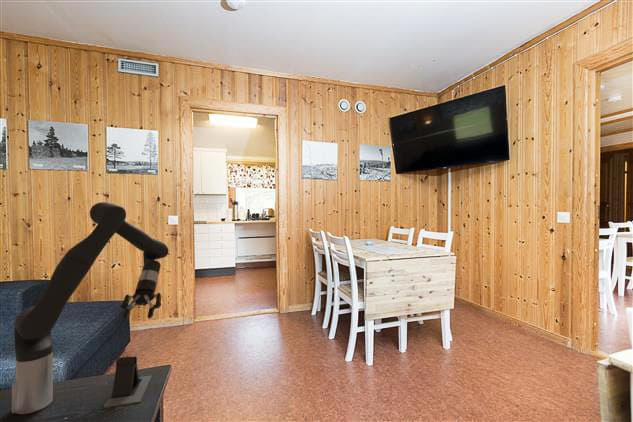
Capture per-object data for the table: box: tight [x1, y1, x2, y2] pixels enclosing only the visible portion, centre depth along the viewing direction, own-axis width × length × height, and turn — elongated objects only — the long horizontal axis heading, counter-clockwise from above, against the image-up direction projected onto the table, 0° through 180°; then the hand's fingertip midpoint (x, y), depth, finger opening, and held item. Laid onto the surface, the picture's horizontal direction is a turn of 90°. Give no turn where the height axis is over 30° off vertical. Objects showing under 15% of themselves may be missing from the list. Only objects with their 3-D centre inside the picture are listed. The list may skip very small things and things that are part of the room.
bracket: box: [103, 375, 152, 409], centre depth 111 cm, size 11×17×1 cm, turn 17°
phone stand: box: [111, 356, 141, 398], centre depth 112 cm, size 9×6×12 cm, turn 10°
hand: (137, 318), depth 122 cm, fingers open, 8 cm apart
